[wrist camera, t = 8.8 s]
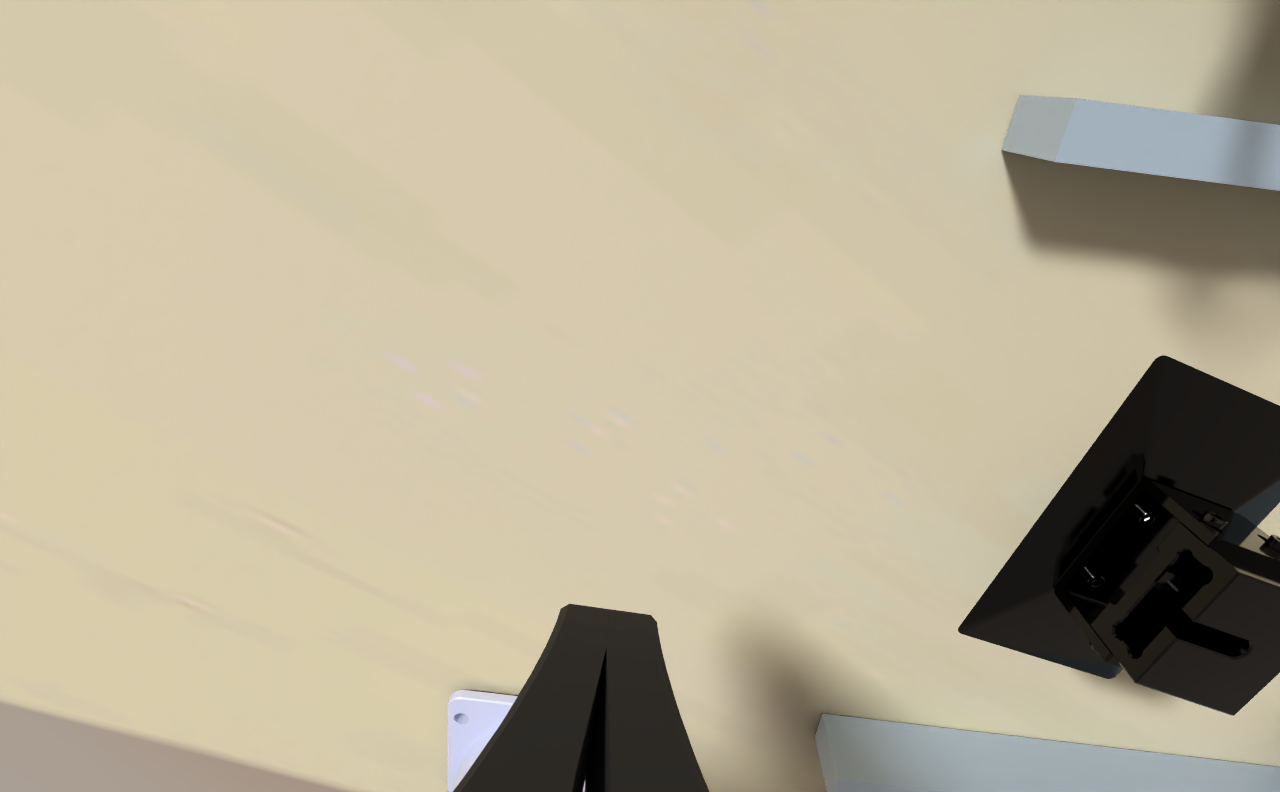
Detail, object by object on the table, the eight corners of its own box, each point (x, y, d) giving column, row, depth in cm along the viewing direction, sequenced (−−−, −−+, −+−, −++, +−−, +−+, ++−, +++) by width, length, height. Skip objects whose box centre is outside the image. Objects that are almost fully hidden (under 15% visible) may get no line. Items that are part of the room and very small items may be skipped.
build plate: (1154, 295, 18) (1311, 364, 14) (1389, 392, 19) (1608, 486, 15) (904, 645, 24) (960, 777, 19) (1099, 708, 25) (1196, 849, 20)
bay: (1384, 803, 25) (1455, 876, 23) (814, 737, 25) (829, 803, 23) (1896, 209, 16) (2094, 230, 14) (1019, 95, 16) (1076, 98, 14)
